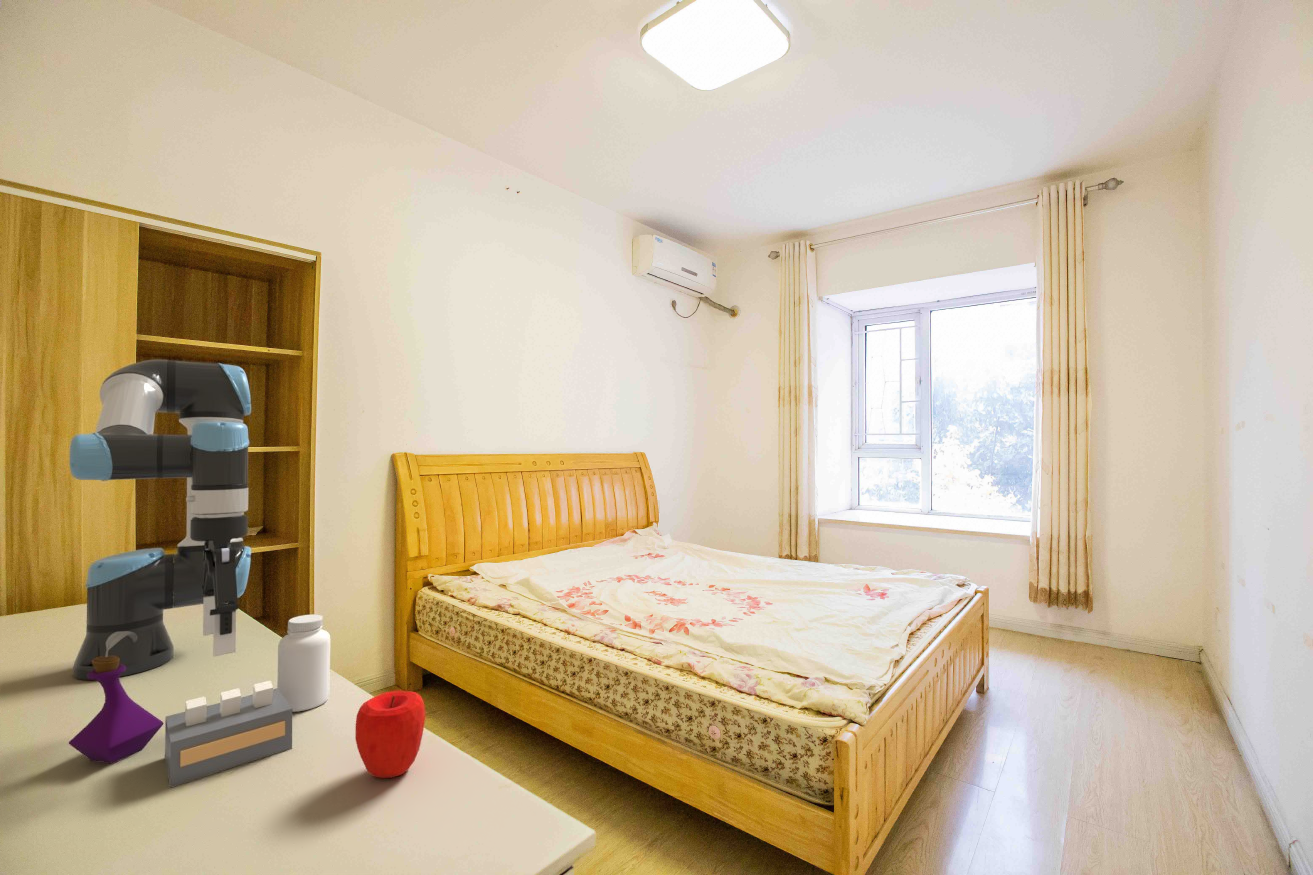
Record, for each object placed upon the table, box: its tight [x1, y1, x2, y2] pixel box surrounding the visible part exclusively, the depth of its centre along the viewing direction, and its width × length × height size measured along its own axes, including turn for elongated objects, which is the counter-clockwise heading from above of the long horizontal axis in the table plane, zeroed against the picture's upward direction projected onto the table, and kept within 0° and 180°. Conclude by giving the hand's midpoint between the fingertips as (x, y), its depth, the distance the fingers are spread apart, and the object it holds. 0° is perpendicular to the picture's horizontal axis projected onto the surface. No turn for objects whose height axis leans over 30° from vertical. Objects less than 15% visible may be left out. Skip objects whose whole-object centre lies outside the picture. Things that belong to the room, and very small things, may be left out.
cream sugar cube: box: [252, 680, 274, 708], centre depth 87 cm, size 2×2×3 cm
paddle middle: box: [219, 687, 242, 717], centre depth 84 cm, size 2×2×3 cm
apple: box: [354, 690, 427, 779], centre depth 79 cm, size 9×9×11 cm
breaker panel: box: [164, 687, 293, 788], centre depth 84 cm, size 10×14×6 cm
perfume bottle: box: [68, 631, 164, 764], centre depth 84 cm, size 8×8×18 cm
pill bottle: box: [276, 614, 331, 713], centre depth 100 cm, size 8×8×15 cm
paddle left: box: [184, 696, 208, 727], centre depth 81 cm, size 2×2×3 cm
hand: (218, 643), depth 93 cm, fingers open, 13 cm apart
